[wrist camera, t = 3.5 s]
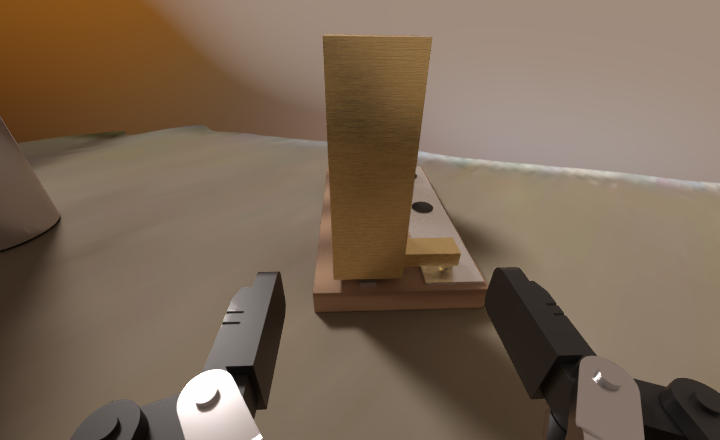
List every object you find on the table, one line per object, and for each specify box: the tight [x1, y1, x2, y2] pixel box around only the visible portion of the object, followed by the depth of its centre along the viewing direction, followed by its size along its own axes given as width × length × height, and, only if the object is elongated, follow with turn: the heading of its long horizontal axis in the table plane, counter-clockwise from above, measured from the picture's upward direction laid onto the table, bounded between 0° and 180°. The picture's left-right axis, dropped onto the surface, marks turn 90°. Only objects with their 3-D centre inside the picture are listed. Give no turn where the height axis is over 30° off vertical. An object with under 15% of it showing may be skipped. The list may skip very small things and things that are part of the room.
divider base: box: [313, 167, 488, 312], centre depth 28 cm, size 23×13×17 cm, turn 3°
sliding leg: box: [323, 34, 461, 280], centre depth 20 cm, size 4×10×15 cm, turn 93°
